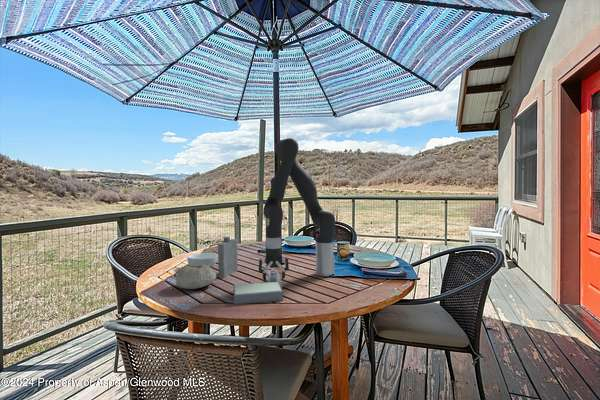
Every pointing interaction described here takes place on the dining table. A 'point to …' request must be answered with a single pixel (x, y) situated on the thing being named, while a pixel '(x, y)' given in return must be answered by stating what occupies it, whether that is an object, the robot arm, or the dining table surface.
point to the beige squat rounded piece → (195, 276)
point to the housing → (274, 277)
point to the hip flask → (227, 257)
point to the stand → (257, 292)
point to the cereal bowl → (203, 259)
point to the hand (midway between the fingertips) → (273, 279)
